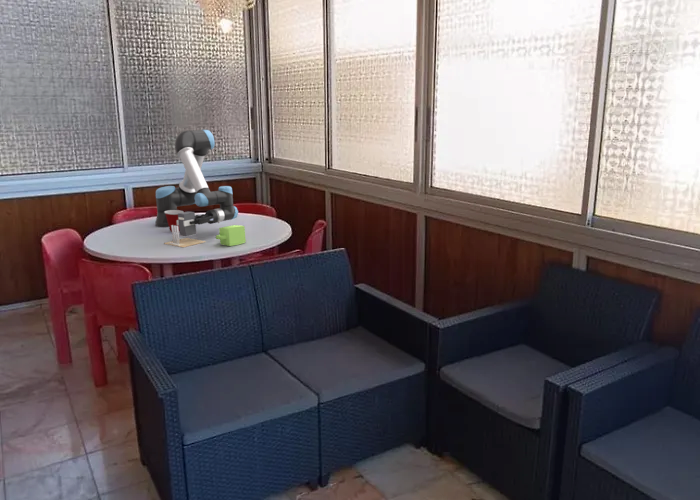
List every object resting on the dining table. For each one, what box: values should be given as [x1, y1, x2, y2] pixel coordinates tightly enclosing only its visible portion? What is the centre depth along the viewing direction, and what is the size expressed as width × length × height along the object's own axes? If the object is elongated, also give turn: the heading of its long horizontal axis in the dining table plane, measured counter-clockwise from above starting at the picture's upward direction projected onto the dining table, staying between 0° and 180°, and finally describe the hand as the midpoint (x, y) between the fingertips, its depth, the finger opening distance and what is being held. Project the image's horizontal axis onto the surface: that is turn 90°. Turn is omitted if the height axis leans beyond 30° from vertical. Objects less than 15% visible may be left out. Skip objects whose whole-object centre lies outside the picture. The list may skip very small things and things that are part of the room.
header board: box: [163, 225, 206, 248], centre depth 316 cm, size 16×15×10 cm
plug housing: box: [178, 211, 197, 237], centre depth 316 cm, size 5×7×12 cm
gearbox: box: [215, 224, 247, 247], centre depth 313 cm, size 18×10×10 cm, turn 140°
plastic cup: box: [165, 209, 184, 233], centre depth 345 cm, size 11×11×12 cm
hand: (180, 223), depth 313 cm, fingers closed on plug housing, 5 cm apart
